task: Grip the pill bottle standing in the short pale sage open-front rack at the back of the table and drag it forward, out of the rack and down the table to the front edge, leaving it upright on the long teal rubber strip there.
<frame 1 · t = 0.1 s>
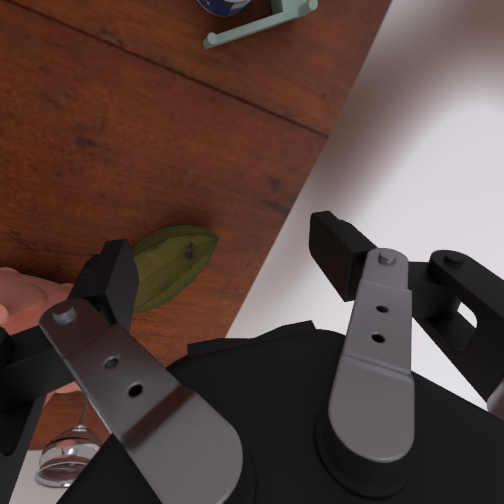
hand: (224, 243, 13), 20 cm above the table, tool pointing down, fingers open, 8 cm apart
wineglass: (93, 383, 44), on the table
teapot: (35, 302, 35), on the table
fruit: (162, 255, 35), on the table
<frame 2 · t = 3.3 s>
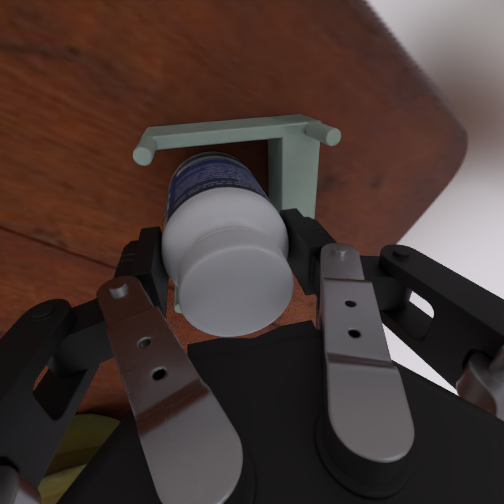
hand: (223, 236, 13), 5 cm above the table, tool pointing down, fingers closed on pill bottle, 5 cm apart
rack: (305, 184, 19), on the table
pill bottle: (212, 193, 18), on the table, touching gripper
fruit: (83, 430, 28), on the table
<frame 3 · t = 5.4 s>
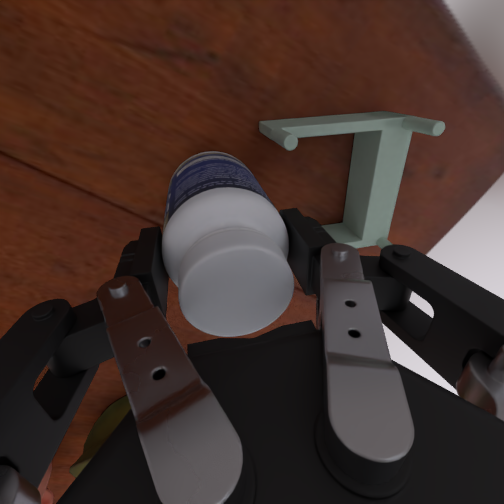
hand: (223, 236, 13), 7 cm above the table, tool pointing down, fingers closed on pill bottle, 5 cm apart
rack: (379, 173, 21), on the table
pill bottle: (212, 193, 18), point 1 cm above the table, touching gripper
fruit: (151, 404, 30), on the table
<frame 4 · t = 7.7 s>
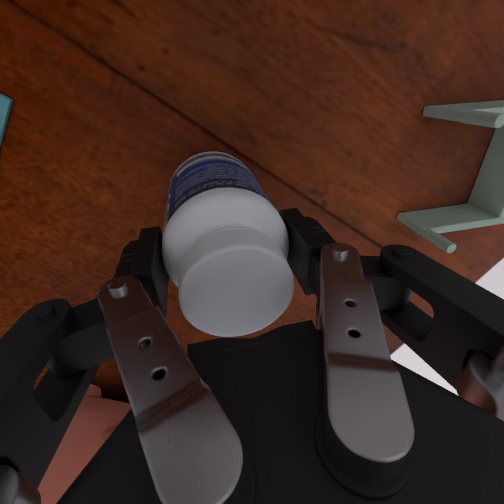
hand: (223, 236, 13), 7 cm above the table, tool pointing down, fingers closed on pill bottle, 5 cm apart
pill bottle: (212, 193, 18), point 1 cm above the table, touching gripper
teapot: (101, 415, 29), on the table
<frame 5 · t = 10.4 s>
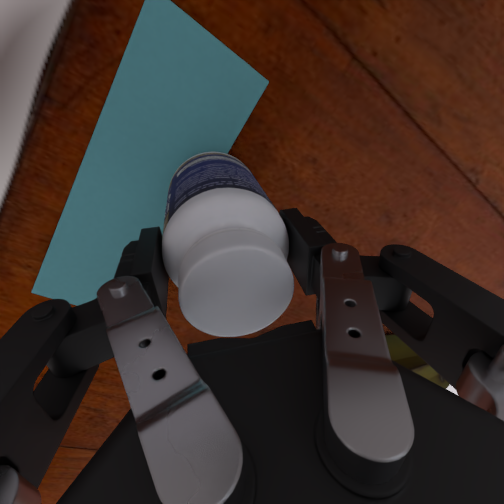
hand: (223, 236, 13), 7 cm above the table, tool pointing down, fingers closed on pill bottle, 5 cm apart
pill bottle: (212, 193, 18), point 1 cm above the table, touching gripper
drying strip: (138, 196, 18), on the table
fruit: (368, 353, 33), on the table
when the fingers open (6 cm above the table, at t = 12.3 s): pill bottle stays where it is, resting on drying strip.
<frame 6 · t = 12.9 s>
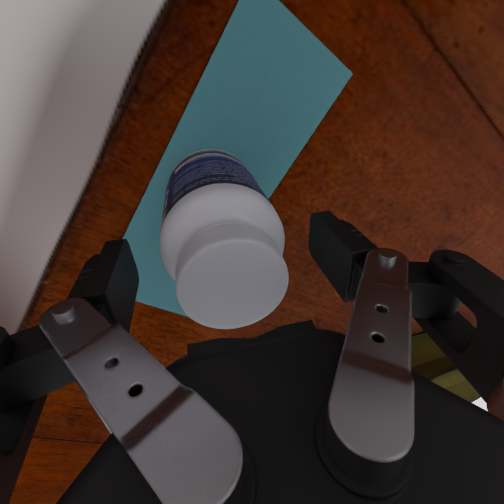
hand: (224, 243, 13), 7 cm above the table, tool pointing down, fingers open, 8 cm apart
pill bottle: (210, 190, 18), resting on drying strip
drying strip: (211, 191, 18), on the table
fruit: (410, 350, 33), on the table
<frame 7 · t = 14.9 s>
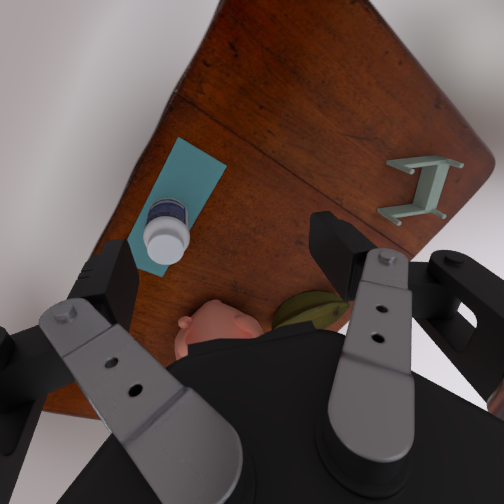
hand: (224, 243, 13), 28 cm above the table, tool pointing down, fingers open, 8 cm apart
rack: (431, 180, 46), on the table
pill bottle: (168, 214, 40), resting on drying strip
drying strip: (169, 214, 40), on the table
teapot: (216, 322, 53), on the table
fruit: (301, 304, 55), on the table
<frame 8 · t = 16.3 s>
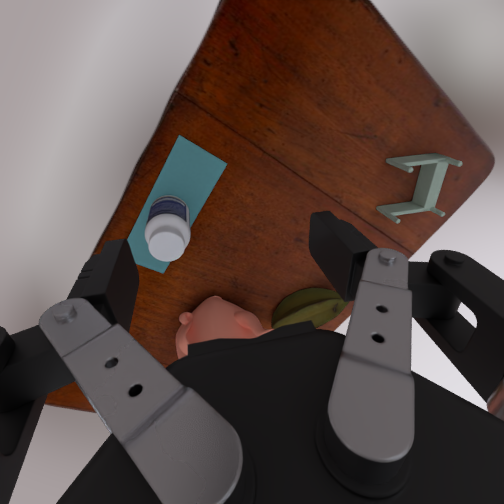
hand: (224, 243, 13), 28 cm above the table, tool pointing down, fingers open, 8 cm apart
rack: (430, 178, 47), on the table
pill bottle: (169, 211, 40), resting on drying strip
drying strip: (170, 212, 41), on the table
teapot: (217, 318, 53), on the table
fruit: (300, 301, 56), on the table
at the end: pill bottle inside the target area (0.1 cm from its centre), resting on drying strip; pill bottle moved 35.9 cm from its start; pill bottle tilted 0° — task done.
